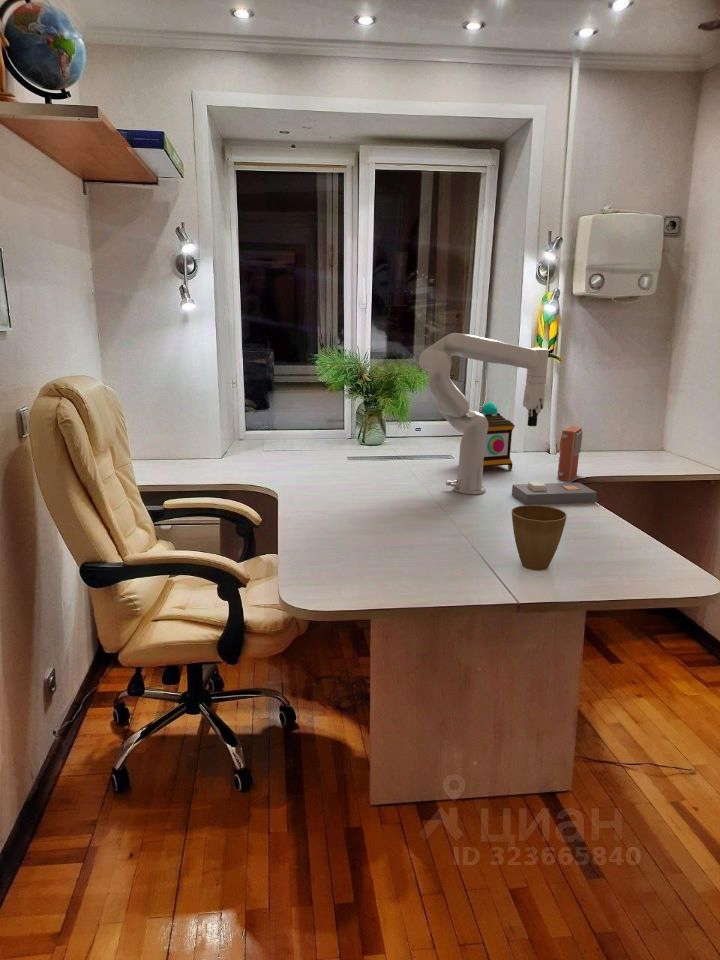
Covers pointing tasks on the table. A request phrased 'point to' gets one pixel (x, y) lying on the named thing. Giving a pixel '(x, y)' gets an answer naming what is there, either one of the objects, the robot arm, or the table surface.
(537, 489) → the ivory key
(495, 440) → the decorative lantern
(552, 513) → the plant pot
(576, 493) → the keypad housing
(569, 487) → the orange key
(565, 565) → the table surface
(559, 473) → the orange box
